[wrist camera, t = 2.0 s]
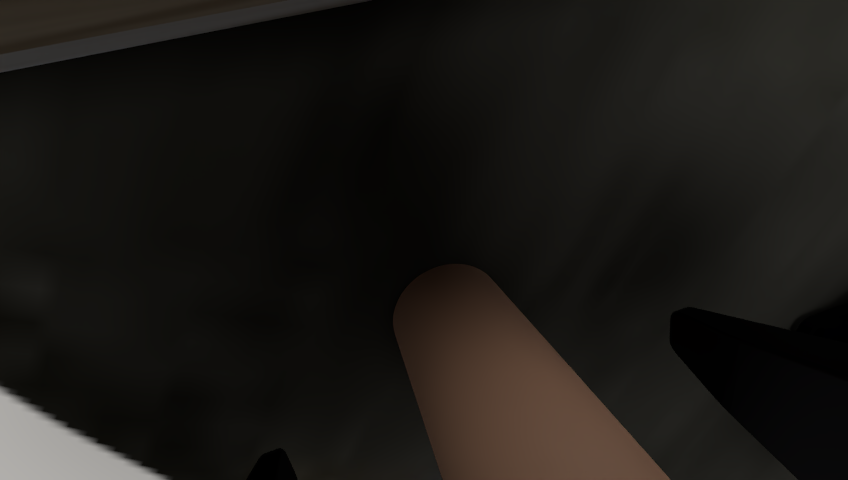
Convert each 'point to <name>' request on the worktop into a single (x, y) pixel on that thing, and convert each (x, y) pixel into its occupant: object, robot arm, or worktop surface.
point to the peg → (503, 389)
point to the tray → (124, 24)
